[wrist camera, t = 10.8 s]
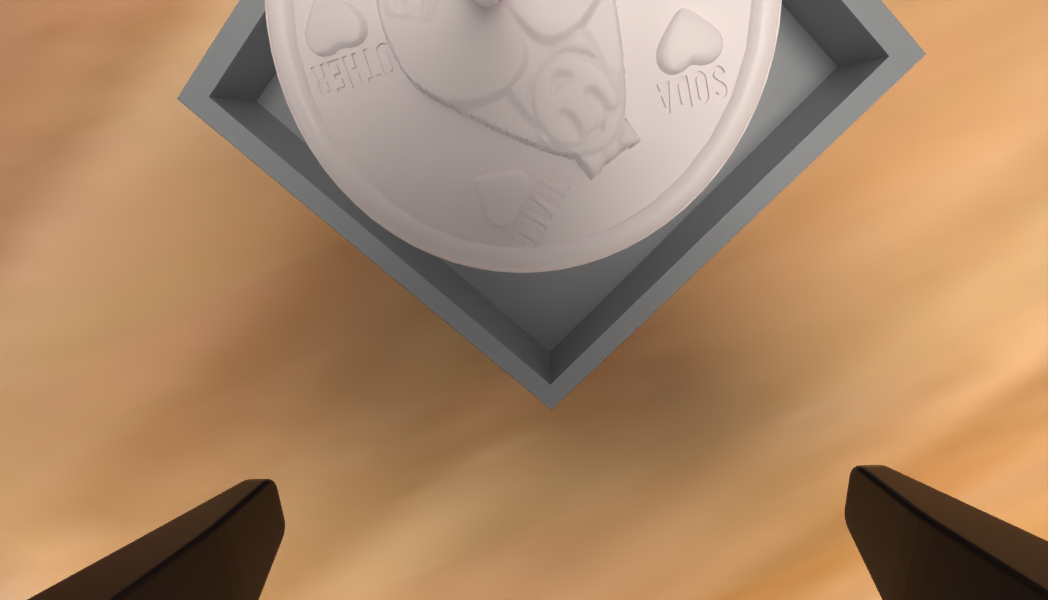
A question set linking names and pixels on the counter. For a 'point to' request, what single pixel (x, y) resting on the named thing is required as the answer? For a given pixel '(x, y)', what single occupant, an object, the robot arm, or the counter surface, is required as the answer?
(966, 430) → the counter surface
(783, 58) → the tray
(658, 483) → the counter surface
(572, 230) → the smoothie
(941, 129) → the counter surface
